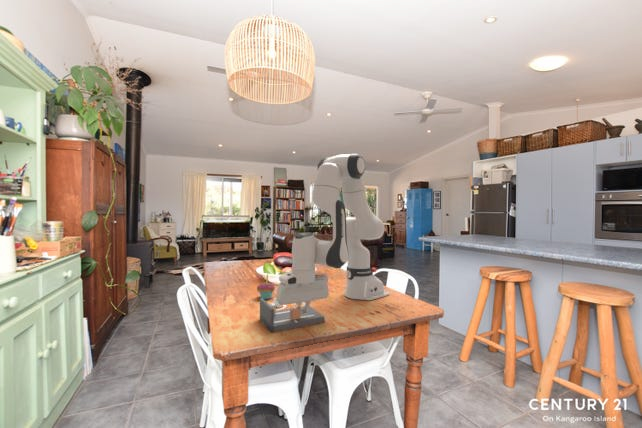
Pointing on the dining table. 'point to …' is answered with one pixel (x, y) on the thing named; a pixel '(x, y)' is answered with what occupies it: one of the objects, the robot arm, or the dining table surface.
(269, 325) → the console
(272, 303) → the cream fader knob
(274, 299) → the teacup and saucer
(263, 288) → the cupcake
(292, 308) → the terracotta fader knob
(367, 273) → the robot arm
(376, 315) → the dining table surface
